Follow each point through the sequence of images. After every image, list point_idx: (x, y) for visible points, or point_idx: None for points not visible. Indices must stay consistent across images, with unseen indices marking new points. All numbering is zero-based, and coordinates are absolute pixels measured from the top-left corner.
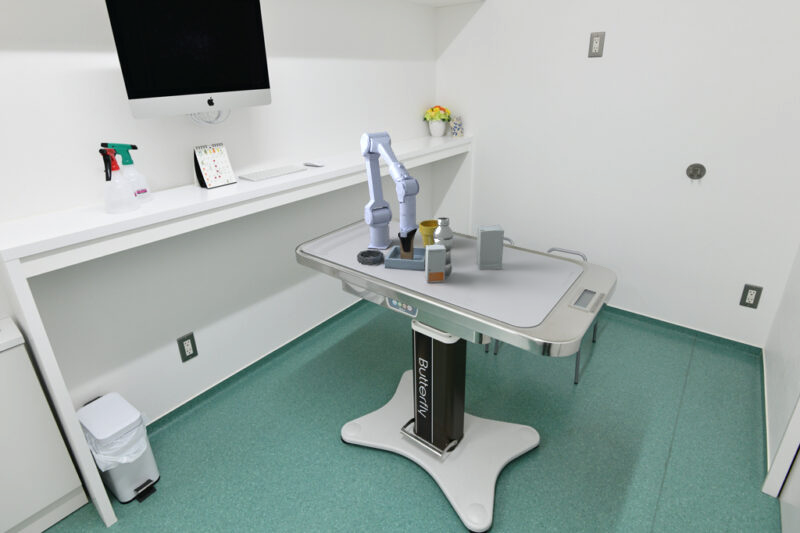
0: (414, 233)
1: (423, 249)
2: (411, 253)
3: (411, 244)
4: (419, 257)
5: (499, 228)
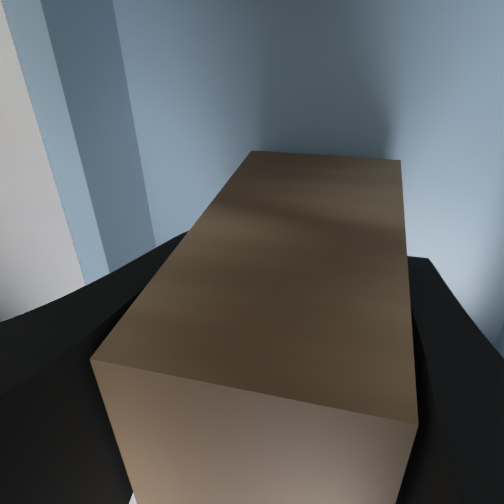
0: (8, 415)
1: (61, 38)
2: (389, 207)
3: (387, 314)
4: (191, 71)
5: None
